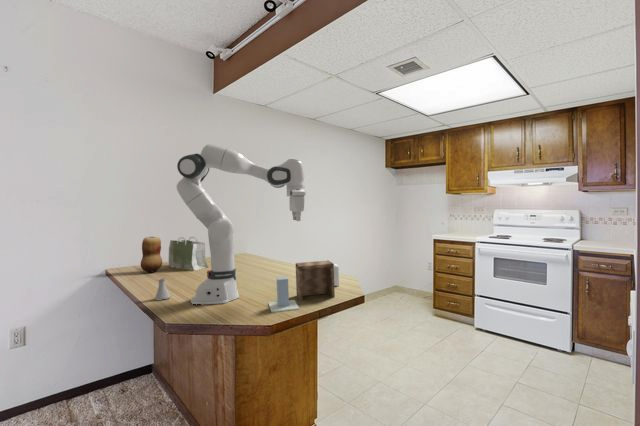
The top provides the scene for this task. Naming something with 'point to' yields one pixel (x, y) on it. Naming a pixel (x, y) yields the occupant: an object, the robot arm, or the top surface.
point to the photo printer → (336, 275)
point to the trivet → (276, 308)
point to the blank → (282, 291)
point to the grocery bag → (187, 254)
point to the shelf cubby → (314, 278)
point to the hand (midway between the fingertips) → (296, 220)
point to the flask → (162, 290)
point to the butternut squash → (151, 254)
